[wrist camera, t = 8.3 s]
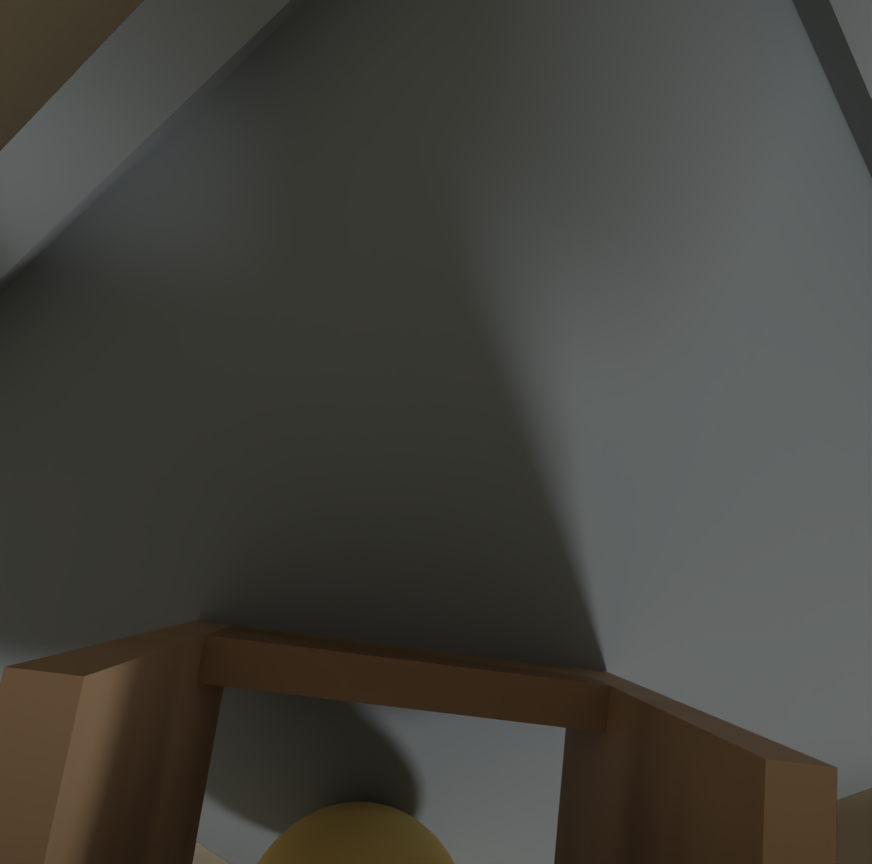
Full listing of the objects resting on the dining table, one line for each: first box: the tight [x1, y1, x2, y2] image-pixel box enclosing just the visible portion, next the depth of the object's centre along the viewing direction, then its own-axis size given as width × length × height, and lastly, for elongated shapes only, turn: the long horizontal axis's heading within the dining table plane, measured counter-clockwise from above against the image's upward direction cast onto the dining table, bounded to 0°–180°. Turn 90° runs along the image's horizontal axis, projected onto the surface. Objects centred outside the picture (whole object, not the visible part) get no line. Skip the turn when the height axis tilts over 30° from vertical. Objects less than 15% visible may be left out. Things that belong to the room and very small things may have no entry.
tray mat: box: [0, 0, 872, 864], centre depth 11 cm, size 16×16×1 cm
